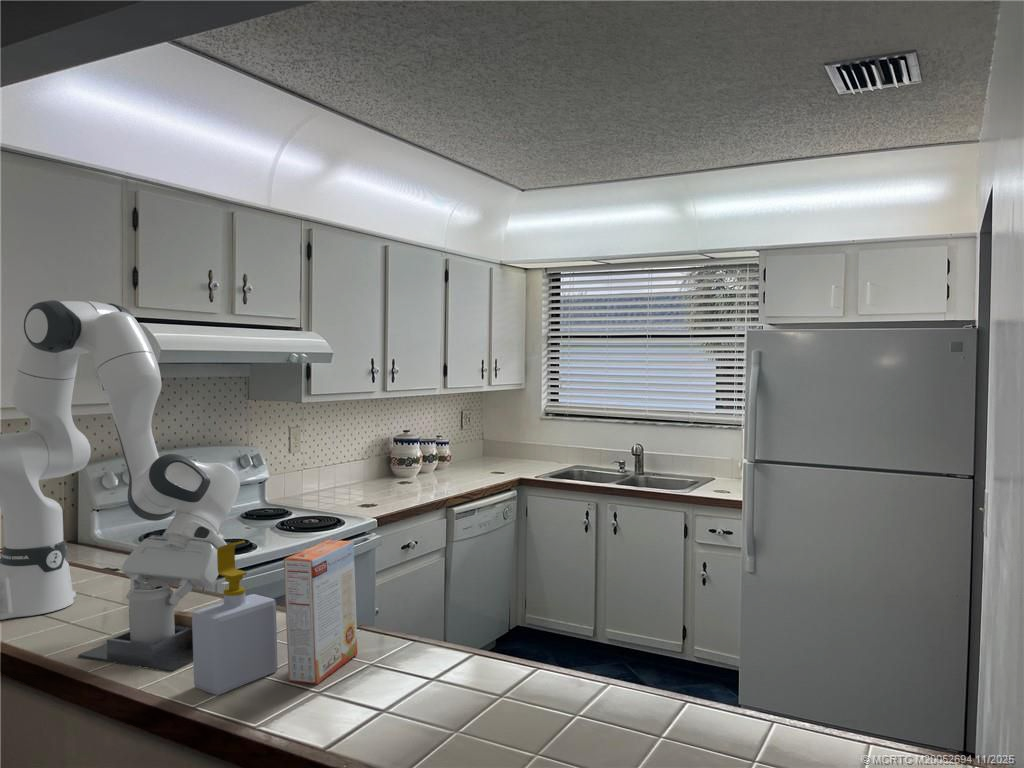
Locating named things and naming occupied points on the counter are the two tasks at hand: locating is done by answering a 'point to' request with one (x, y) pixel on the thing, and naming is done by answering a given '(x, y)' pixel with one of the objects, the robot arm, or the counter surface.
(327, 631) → the cracker box
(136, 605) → the can
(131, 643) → the socket
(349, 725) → the counter surface
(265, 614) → the soap bottle
